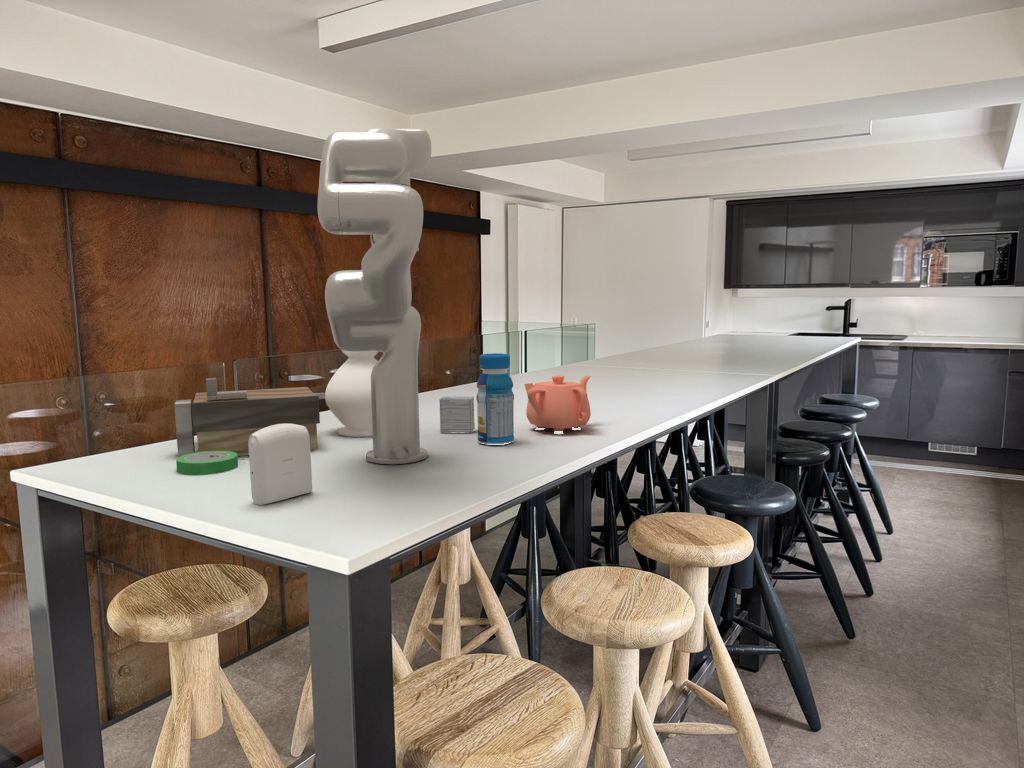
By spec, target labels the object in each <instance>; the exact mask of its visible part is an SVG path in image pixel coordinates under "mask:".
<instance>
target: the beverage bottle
mask: <svg viewBox="0 0 1024 768" xmlns="http://www.w3.org/2000/svg"><path fill="white" fill-rule="evenodd" d="M510 361H511V357H510V354H508V353H501V352H500V353H498V352H497V353H482V354H480V355H479V369H480V370H481V371H482V372H481V373H480V374H479V377H478V379H477V383H476V388H477V392H476V397H475V398H476V405H477V406H476V407H477V409H476V411H477V413H476V414H477V442H478V443H479V442H480V443H484V444H504V443H509V442H512V441H513V442H514V440H515V435H514V433H515V432H514V425H515V424H514V401H515V394H514V392H513V387H514V382H513V379H512V376H511V375H510V374H509V372H508V370H510V367H511V362H510ZM513 442H512V443H513ZM480 443H479V444H480Z"/></svg>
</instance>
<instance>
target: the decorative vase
mask: <svg viewBox="0 0 1024 768" xmlns="http://www.w3.org/2000/svg"><path fill="white" fill-rule="evenodd" d="M341 352H342V353H343V354H344V355H345V356H347V357H348V358H347V359H346V360H345V362H343V363H342V365H341V366H339V368H338V369H337V370H336V371H335V373H333V375H332V377H331V379H330V380H329V382H328V383H327V385H326V389H325V393H324V399H325V404H326V406H327V407H328V409H329V410H330V412H331V413H332V414H333V415H334V416H335V418H337V420H338V421H339V422H340V423H341V424H342V425H343V426H344V427H341V428H339V429H338V430H337V434H338V435H340V436H343V437H351V438H352V437H353V438H354V437H355V438H359V437H360V438H361V437H362V438H363V437H373V433H372V404H371V372H372V369H373V367H374V366H375V364H376V363H377V362H378V361H379V360H377V359H376V358H375V356H376V355H377V354H378V353H379V352H378V351H356V352H355V351H343V350H341Z"/></svg>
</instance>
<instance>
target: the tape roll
mask: <svg viewBox="0 0 1024 768" xmlns="http://www.w3.org/2000/svg"><path fill="white" fill-rule="evenodd" d="M238 457H239V456H238V455H237V454H236V453H235V452H231V451H203V452H198V451H197V452H196V451H195V453H190V454H186V455H183V456H180V457H178V456H177V457H176V462H175V463H176V472H177V474H180V475H185V476H207V475H214V474H219V473H225V472H229V471H232V470H235V469H237V468H238V466H239V458H238Z"/></svg>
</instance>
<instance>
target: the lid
mask: <svg viewBox="0 0 1024 768" xmlns="http://www.w3.org/2000/svg"><path fill="white" fill-rule="evenodd" d="M227 391H228V390H226V391H223V392H227ZM241 391H245V390H241ZM246 391H247V398H231V399H214V400H207V391H205V392H196V393H195V395H194V399H193V401H192V415H193V430H194V434H195V433H196V434H197V432H210V431H223V430H237V429H250V428H264V427H268V426H272V425H276V424H297V425H305V424H320V423H321V420H320V419H321V418H320V416H321V415H320V395H316V394H315V393H314V392H313V391H312V390H311V389H310V388H309V387H308V386H298V387H282V388H263V389H246Z"/></svg>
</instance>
